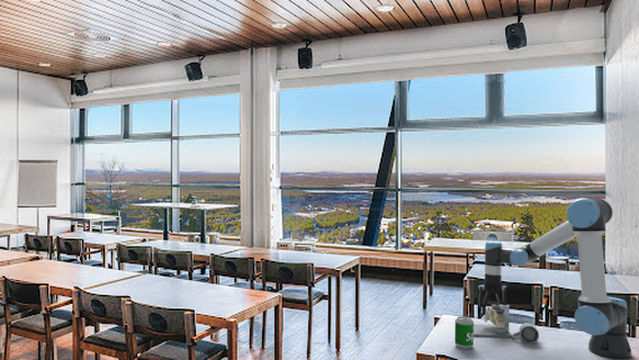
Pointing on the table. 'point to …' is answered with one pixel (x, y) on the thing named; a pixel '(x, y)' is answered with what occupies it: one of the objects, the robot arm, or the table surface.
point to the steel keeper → (506, 313)
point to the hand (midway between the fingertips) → (492, 321)
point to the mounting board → (490, 331)
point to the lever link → (497, 317)
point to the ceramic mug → (527, 333)
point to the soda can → (464, 332)
